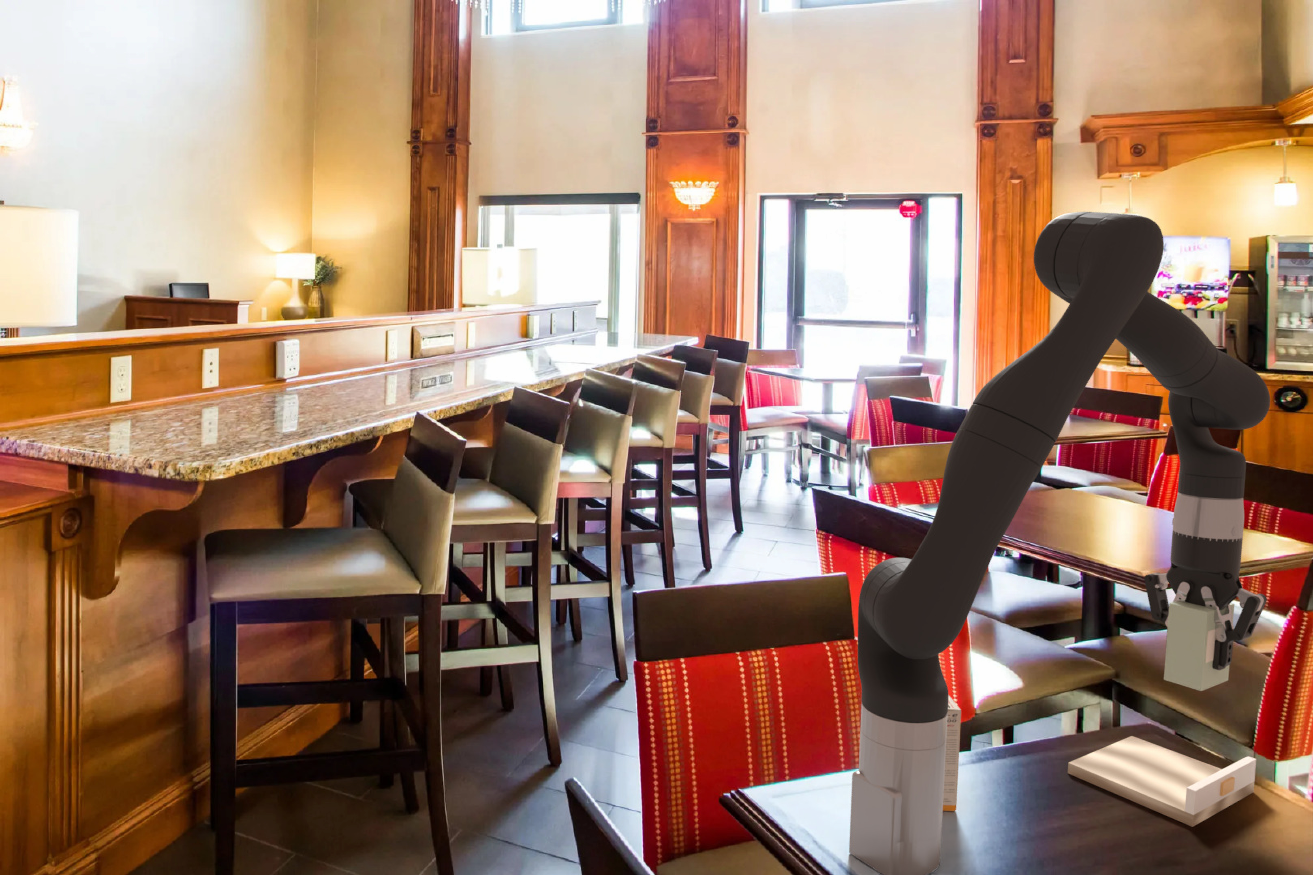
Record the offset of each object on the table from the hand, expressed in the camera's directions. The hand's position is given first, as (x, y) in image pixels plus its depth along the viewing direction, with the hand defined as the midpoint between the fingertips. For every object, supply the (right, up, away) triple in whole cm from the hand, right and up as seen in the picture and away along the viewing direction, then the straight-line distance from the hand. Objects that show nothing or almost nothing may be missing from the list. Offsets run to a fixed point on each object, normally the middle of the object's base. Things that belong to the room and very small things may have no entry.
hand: (1197, 661), depth 113 cm
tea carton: (0, -2, 0) cm, 2 cm away
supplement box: (-34, -17, 0) cm, 38 cm away
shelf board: (-2, -17, +5) cm, 18 cm away
